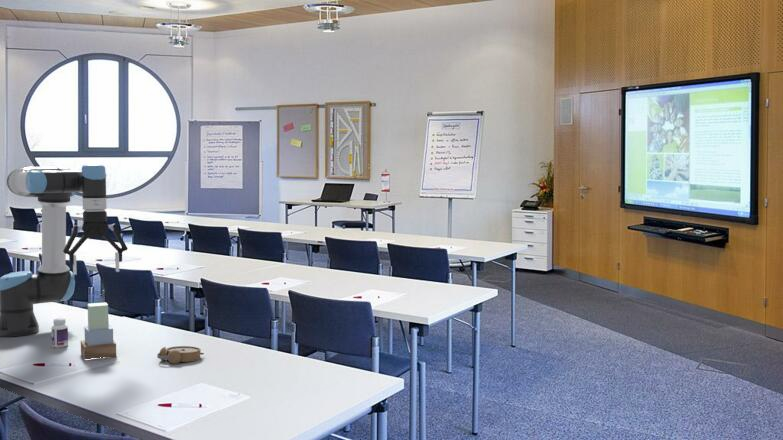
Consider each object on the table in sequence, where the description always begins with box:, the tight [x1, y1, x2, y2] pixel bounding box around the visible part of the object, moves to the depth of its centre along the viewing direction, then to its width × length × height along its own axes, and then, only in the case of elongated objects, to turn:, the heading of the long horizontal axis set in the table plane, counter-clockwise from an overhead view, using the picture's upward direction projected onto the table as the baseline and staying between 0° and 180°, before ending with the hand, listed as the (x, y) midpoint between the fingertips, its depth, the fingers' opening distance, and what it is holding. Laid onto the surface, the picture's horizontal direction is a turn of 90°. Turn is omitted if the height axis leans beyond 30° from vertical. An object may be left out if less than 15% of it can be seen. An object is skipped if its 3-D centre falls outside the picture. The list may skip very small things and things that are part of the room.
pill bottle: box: [51, 317, 69, 348], centre depth 271 cm, size 5×5×10 cm
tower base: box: [80, 339, 117, 360], centre depth 258 cm, size 10×10×5 cm
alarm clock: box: [156, 345, 205, 365], centre depth 253 cm, size 11×5×15 cm
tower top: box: [84, 324, 114, 346], centre depth 258 cm, size 8×8×5 cm
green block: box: [87, 302, 110, 330], centre depth 258 cm, size 6×6×8 cm
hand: (96, 272), depth 256 cm, fingers open, 13 cm apart
